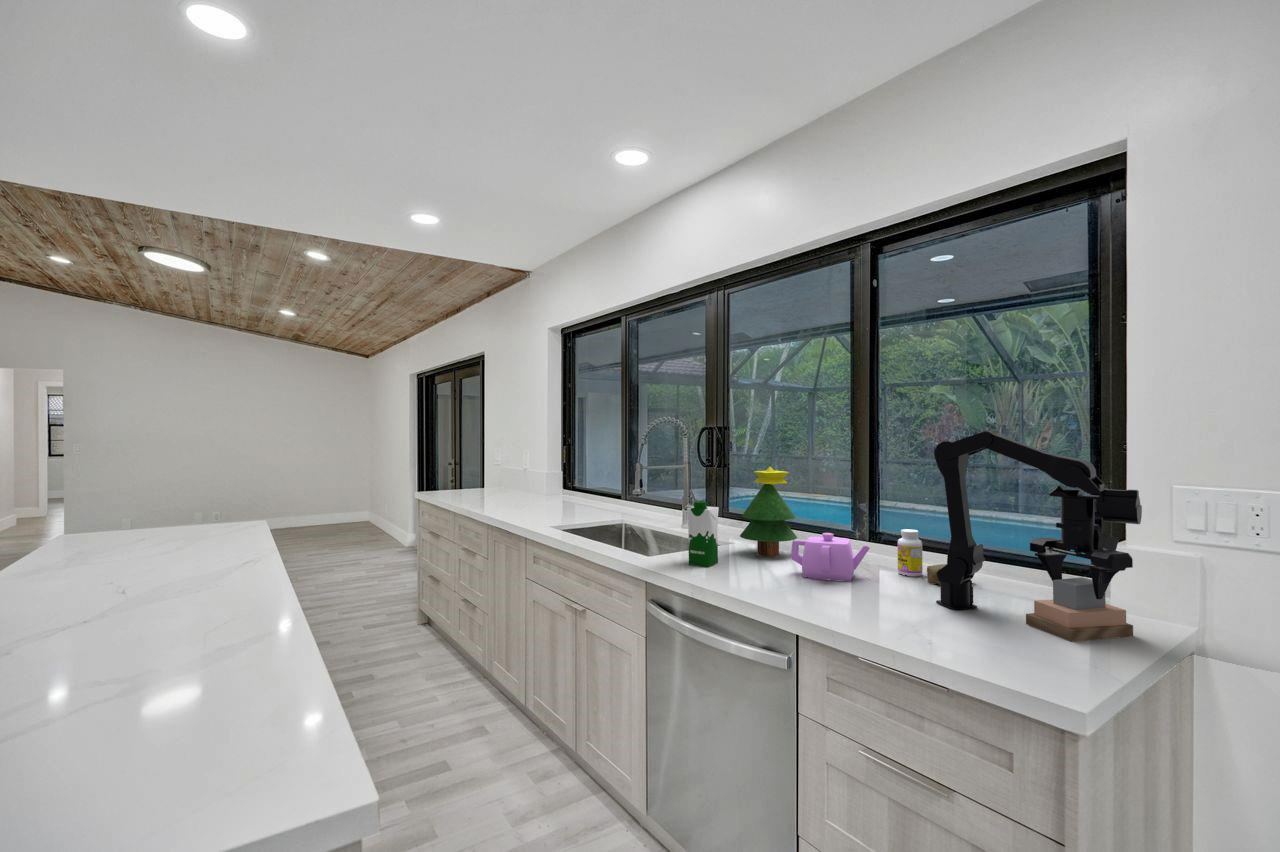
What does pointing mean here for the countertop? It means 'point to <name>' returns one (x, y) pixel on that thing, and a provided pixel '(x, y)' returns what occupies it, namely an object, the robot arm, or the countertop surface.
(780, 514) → the decorative tree
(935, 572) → the stone block
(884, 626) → the countertop surface
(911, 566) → the supplement bottle
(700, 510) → the milk carton
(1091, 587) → the charcoal block
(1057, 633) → the base slab
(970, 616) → the countertop surface
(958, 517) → the robot arm
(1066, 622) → the top slab
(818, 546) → the teakettle
